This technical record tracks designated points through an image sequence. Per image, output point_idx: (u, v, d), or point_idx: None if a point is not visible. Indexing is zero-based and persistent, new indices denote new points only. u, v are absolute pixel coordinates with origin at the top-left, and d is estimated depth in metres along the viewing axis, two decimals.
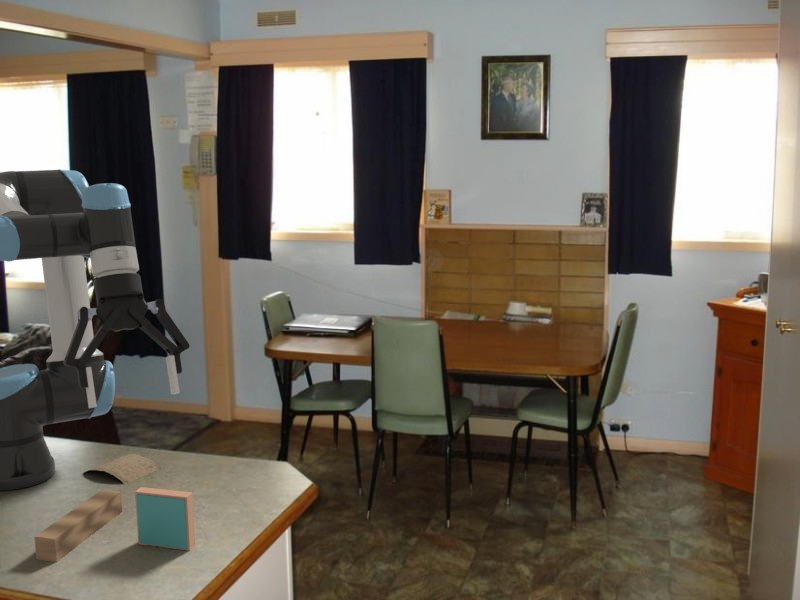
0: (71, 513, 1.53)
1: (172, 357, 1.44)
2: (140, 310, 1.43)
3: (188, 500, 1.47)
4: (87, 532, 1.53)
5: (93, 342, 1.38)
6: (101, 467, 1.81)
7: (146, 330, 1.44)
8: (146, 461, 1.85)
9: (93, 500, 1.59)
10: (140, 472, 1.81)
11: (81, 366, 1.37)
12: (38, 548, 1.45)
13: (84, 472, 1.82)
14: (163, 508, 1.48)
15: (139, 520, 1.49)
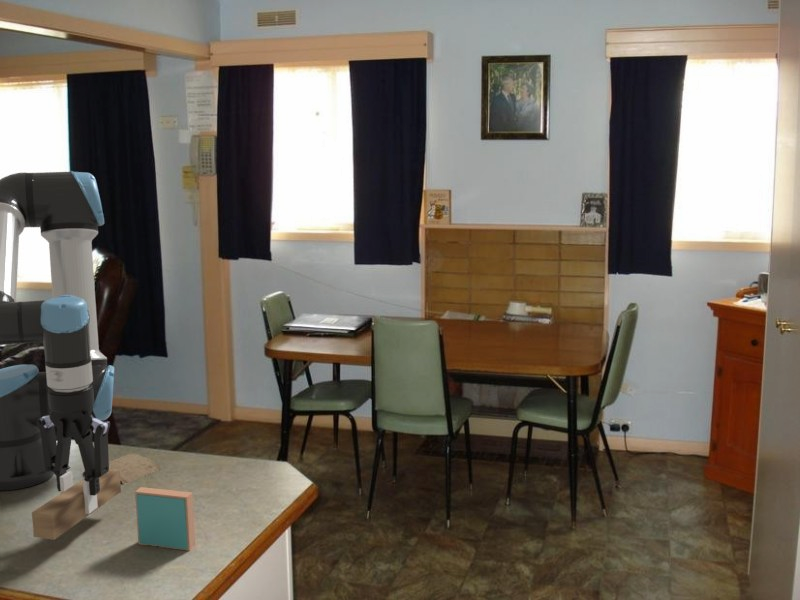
0: (69, 490, 1.53)
1: (85, 481, 1.51)
2: (81, 422, 1.49)
3: (188, 500, 1.47)
4: None
5: (57, 452, 1.51)
6: None
7: None
8: (146, 461, 1.85)
9: None
10: (140, 472, 1.81)
11: (57, 475, 1.52)
12: (36, 524, 1.45)
13: None
14: (163, 508, 1.48)
15: (139, 520, 1.49)
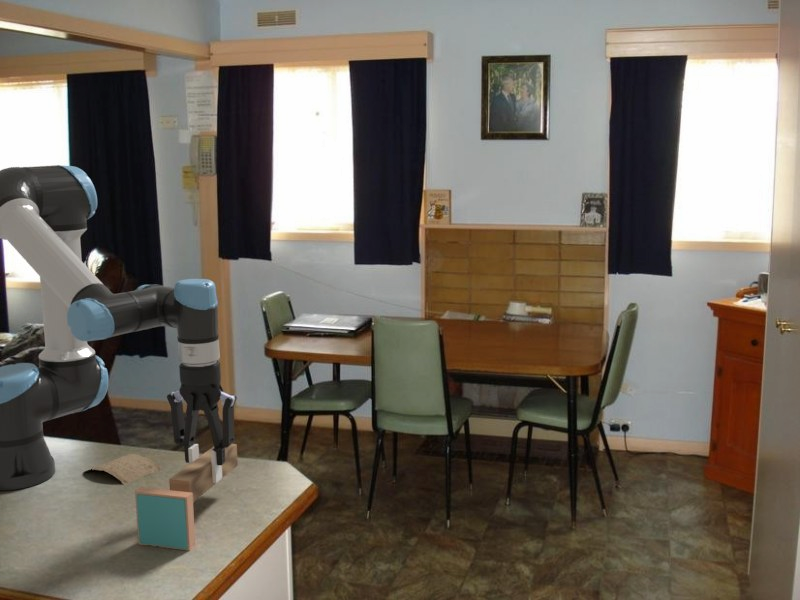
0: (197, 461, 1.63)
1: (212, 452, 1.61)
2: (210, 396, 1.59)
3: (188, 500, 1.47)
4: None
5: (186, 425, 1.62)
6: (101, 467, 1.81)
7: None
8: (146, 462, 1.84)
9: None
10: (140, 472, 1.81)
11: (186, 446, 1.62)
12: (173, 490, 1.54)
13: (85, 471, 1.83)
14: (163, 508, 1.48)
15: (139, 520, 1.49)
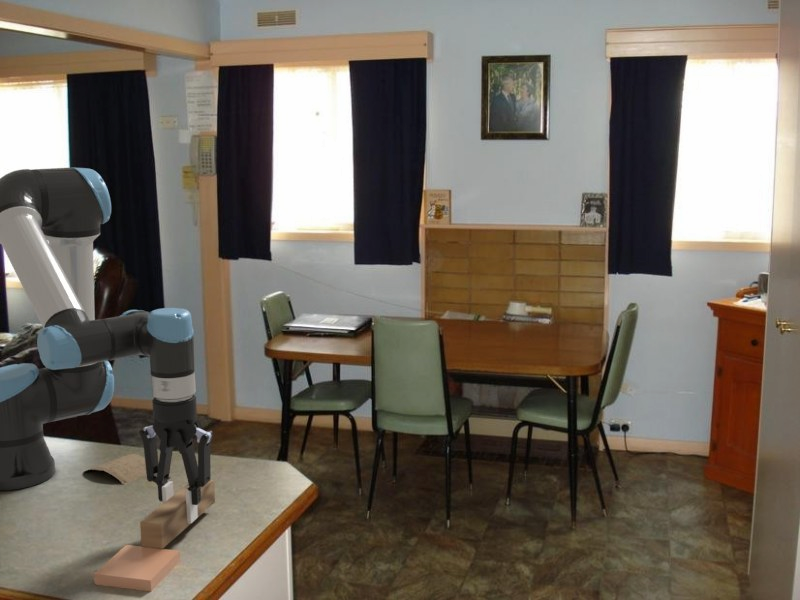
0: (171, 500, 1.54)
1: (187, 491, 1.52)
2: (185, 432, 1.50)
3: (153, 586, 1.36)
4: (186, 519, 1.53)
5: (160, 462, 1.53)
6: (101, 466, 1.81)
7: None
8: None
9: None
10: (139, 472, 1.81)
11: (159, 485, 1.54)
12: (144, 533, 1.45)
13: (85, 471, 1.83)
14: None
15: None
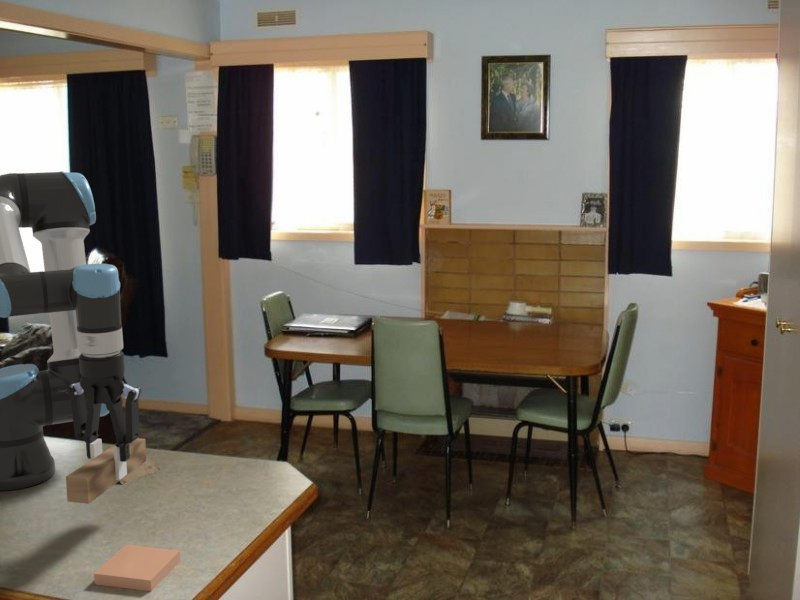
0: (99, 457, 1.54)
1: (115, 448, 1.52)
2: (113, 388, 1.50)
3: (153, 586, 1.36)
4: (115, 476, 1.53)
5: (87, 419, 1.52)
6: None
7: None
8: (146, 462, 1.84)
9: None
10: (139, 473, 1.81)
11: (87, 442, 1.53)
12: (70, 488, 1.45)
13: None
14: None
15: None
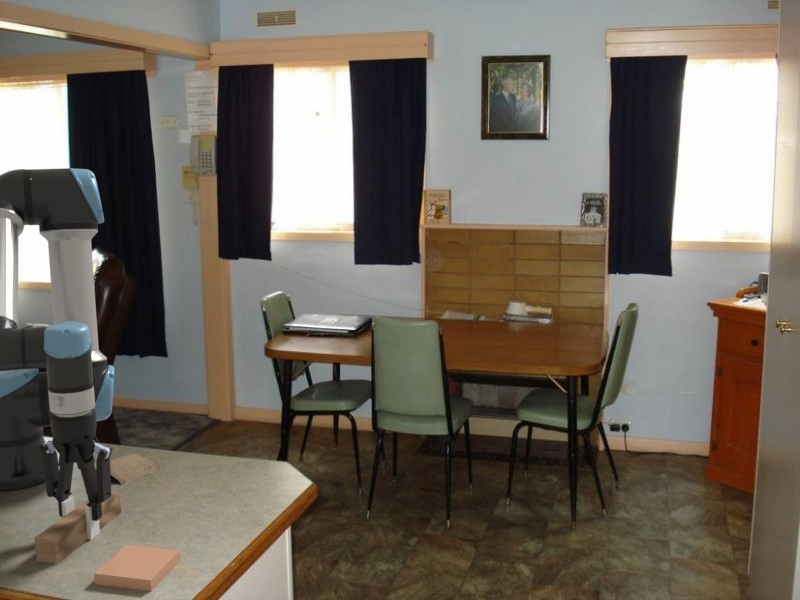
0: (70, 514, 1.53)
1: (87, 507, 1.51)
2: (84, 447, 1.50)
3: (153, 586, 1.36)
4: (86, 533, 1.52)
5: (59, 478, 1.52)
6: None
7: None
8: (146, 462, 1.84)
9: None
10: (139, 473, 1.81)
11: (59, 500, 1.53)
12: (38, 549, 1.44)
13: None
14: None
15: None
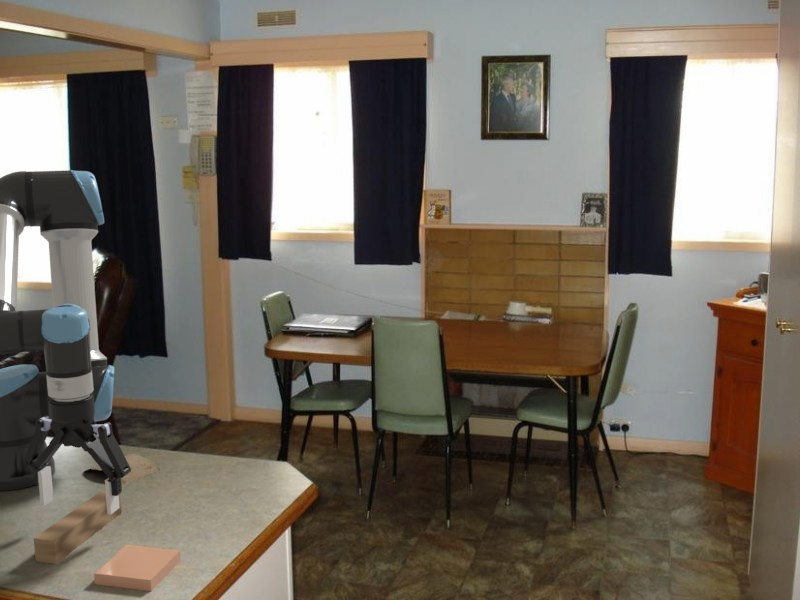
0: (70, 515, 1.53)
1: (107, 482, 1.50)
2: (84, 433, 1.49)
3: (153, 586, 1.36)
4: (86, 534, 1.52)
5: (44, 452, 1.52)
6: None
7: None
8: (146, 462, 1.84)
9: (92, 501, 1.58)
10: (139, 473, 1.81)
11: (34, 469, 1.53)
12: (38, 550, 1.44)
13: (84, 471, 1.83)
14: None
15: None
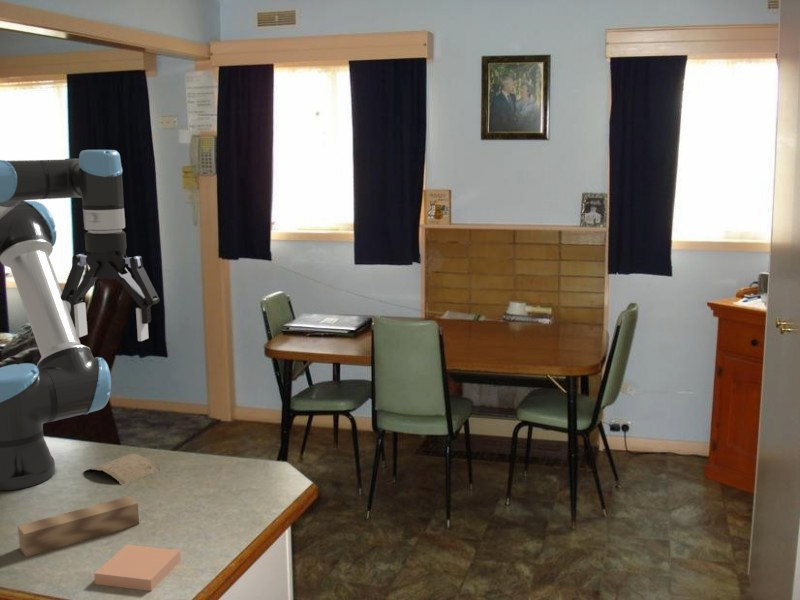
0: (72, 513, 1.54)
1: (137, 310, 1.64)
2: (116, 265, 1.64)
3: (154, 586, 1.36)
4: (77, 535, 1.52)
5: (80, 285, 1.67)
6: (100, 466, 1.81)
7: None
8: (145, 462, 1.84)
9: (106, 505, 1.57)
10: (138, 473, 1.81)
11: (71, 303, 1.68)
12: (19, 538, 1.49)
13: (84, 471, 1.83)
14: None
15: None
